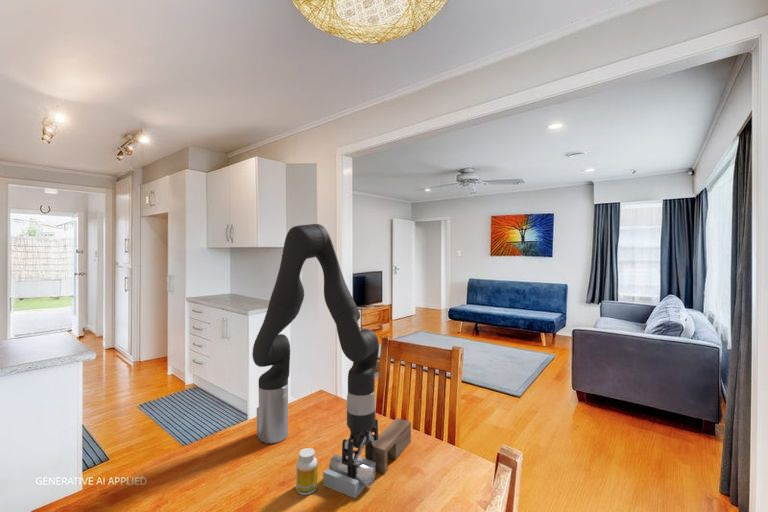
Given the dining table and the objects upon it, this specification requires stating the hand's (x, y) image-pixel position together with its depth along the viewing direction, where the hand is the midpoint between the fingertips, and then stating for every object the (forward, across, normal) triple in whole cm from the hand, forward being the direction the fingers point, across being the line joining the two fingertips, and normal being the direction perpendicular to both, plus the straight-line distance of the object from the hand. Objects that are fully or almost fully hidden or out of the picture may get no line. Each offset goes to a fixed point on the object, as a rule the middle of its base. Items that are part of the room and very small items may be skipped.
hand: (361, 467), depth 92 cm
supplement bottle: (+5, -8, +12) cm, 15 cm away
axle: (+3, 0, +3) cm, 4 cm away
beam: (+4, +16, -1) cm, 16 cm away
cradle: (+4, 0, +4) cm, 6 cm away
